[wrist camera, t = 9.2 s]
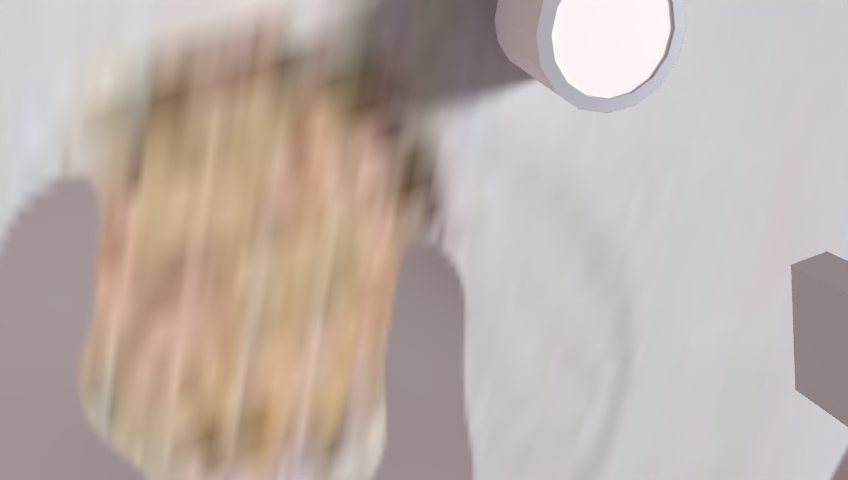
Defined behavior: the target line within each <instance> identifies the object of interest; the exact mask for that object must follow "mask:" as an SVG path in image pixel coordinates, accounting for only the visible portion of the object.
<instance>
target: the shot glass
mask: <svg viewBox="0 0 848 480" xmlns="http://www.w3.org/2000/svg"><path fill="white" fill-rule="evenodd" d="M494 23H495V29H496V35H497V41H498V43H499V45H500V47H501V48H502V50H503V52H504V53H505V55H506V56H507V58H508V60H509V61H510V62H512V63H513V64H515V65H516V66H518V67H519V68H521V69H522V70H523V71H525V72H526V73H528V74H529V75H531V76H532V77H533V78H535V79H536V80H538V81H539V82H541V83H542V84H543V85H545V86H546V87H548V88H549V89H551V90H552V91H554V92H555V93H556V94H558V95H559V96H561V97H562V98H564V99H565V100H567V101H568V102H570V103H571V104H573V105H574V106H576V107H577V108H579V109H581V110H588V111H595V112H602V113H610V112H614V111H617V110H621V109H624V108H628V107H631V106H635V105H637V104H638V103H639V102H640V101H642V100H643V99H644V98H646V97H647V96H648V95H650V94H651V93H652V92H654V91H655V90H656V89H658V88H659V87H660V86H661V84H662V83H663V81H664V80H665V78H666V77H667V75H668V74H669V72H670V71H671V69H672V68H673V66H674V65H675V63H676V62H677V60H678V57H679V54H680V50H681V46H682V43H683V39H684V35H685V32H686V15H685V0H498V2H497V7H496V13H495V18H494Z"/></svg>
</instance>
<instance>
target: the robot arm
mask: <svg viewBox="0 0 848 480" xmlns="http://www.w3.org/2000/svg"><path fill="white" fill-rule="evenodd" d="M791 273H792V302H793V332H794V361H795V390H797V391H798V392H800V393H801V394H802V395H804V396H805V397H807V398H808V399H809V400H811V401H812V402H814V403H815V404H816V405H818V406H819V407H821V408H822V409H823V410H825V411H826V412H828V413H829V414H831V415H832V416H833V417H835V418H836V419H838V420H839V421H840V422H842V423H843V424H845V425H846V426H847V427H848V261H846V260H844V259H842V258H840V257H838V256H836V255H833V254H831V253H829V252H824V253H822V254H819V255H816V256H814V257H811V258H808V259H806V260H803V261H800V262H798V263H795V264H792V265H791Z"/></svg>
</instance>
